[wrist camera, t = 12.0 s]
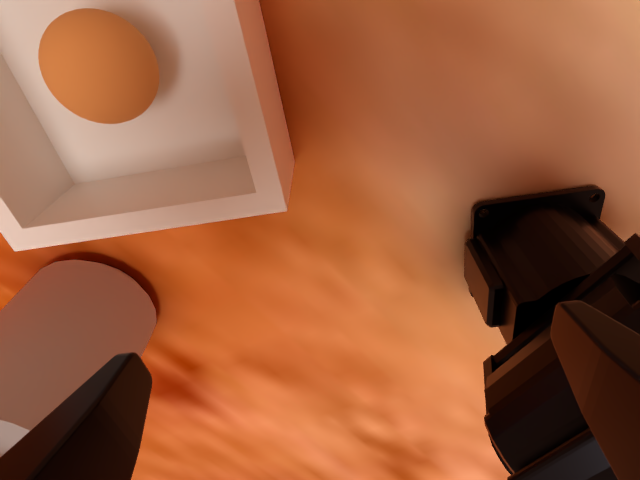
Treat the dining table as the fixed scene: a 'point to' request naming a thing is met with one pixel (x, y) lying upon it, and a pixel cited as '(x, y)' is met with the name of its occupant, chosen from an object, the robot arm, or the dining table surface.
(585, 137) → the dining table surface
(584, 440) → the robot arm
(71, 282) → the can
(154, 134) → the box
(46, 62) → the ball
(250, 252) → the dining table surface
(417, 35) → the dining table surface
